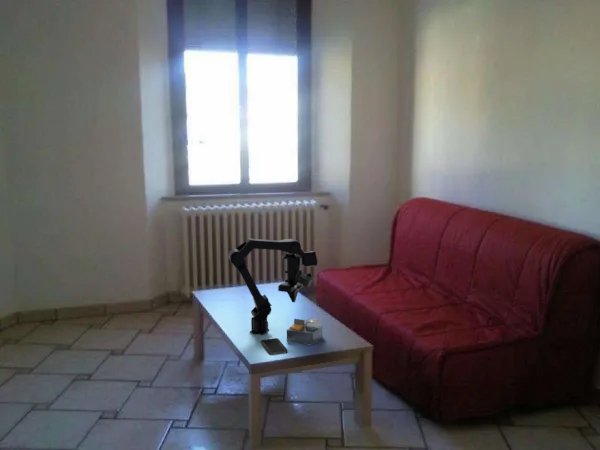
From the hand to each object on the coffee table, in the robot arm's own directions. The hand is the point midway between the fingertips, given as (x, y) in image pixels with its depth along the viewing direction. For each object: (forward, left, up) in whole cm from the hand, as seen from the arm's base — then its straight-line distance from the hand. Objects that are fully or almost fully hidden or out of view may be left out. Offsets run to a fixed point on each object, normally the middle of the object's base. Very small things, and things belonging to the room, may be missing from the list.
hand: (293, 302), depth 259 cm
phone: (+2, -23, -13) cm, 27 cm away
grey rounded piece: (+13, -9, -11) cm, 19 cm away
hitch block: (+10, -10, -12) cm, 19 cm away
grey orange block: (+7, -9, -7) cm, 13 cm away
